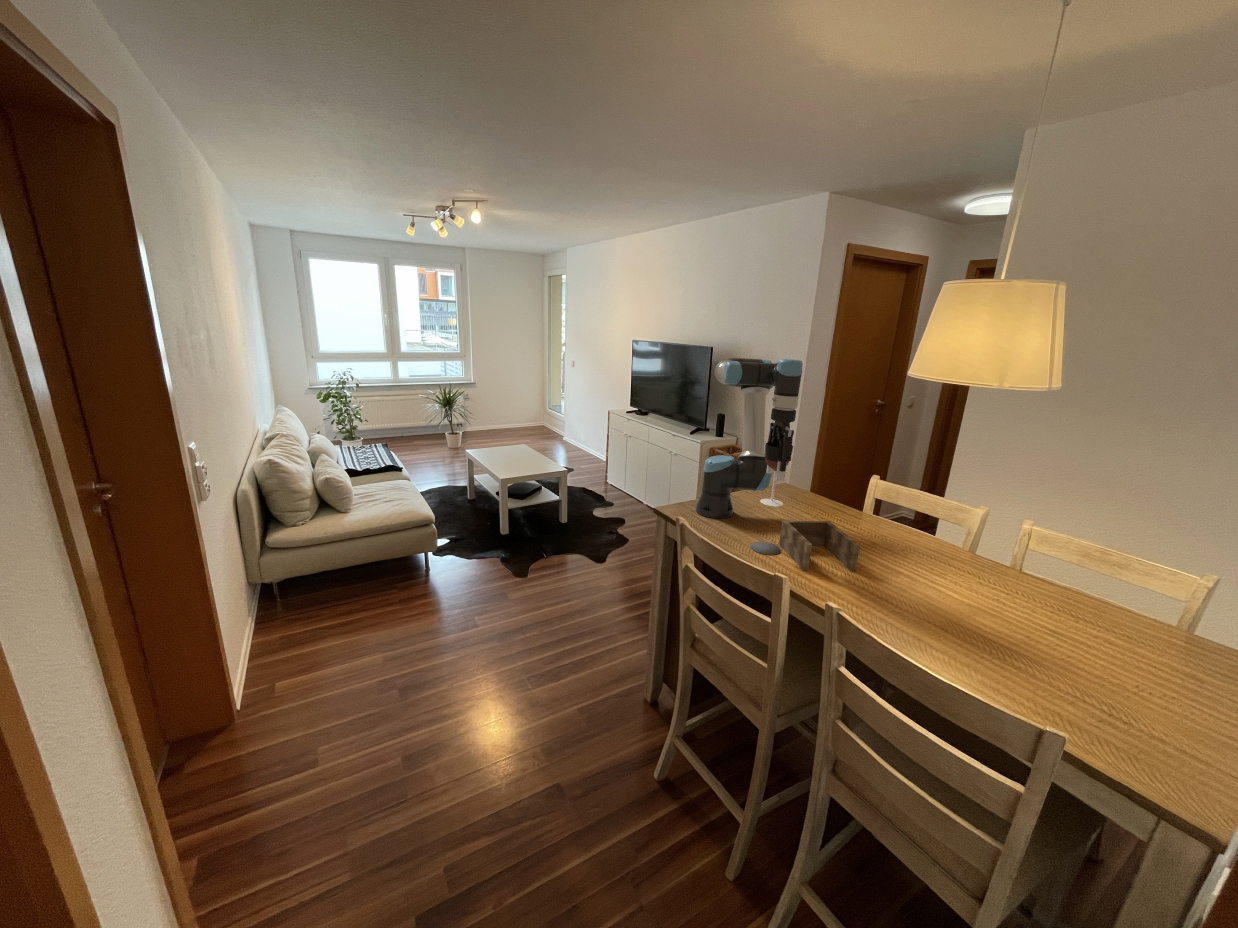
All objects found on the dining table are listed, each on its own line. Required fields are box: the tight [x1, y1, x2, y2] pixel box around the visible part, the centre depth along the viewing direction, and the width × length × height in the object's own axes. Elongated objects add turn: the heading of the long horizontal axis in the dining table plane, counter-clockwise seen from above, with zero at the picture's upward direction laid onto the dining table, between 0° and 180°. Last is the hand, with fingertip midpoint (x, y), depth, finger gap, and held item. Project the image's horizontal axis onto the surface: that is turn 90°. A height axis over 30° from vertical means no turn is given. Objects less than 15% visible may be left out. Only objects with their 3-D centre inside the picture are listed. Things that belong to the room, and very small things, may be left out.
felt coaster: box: [750, 541, 782, 556], centre depth 171 cm, size 10×10×1 cm
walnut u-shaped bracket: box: [778, 520, 861, 572], centre depth 165 cm, size 20×17×9 cm
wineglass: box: [759, 441, 794, 507], centre depth 164 cm, size 8×9×20 cm
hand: (775, 476), depth 164 cm, fingers closed on wineglass, 7 cm apart
